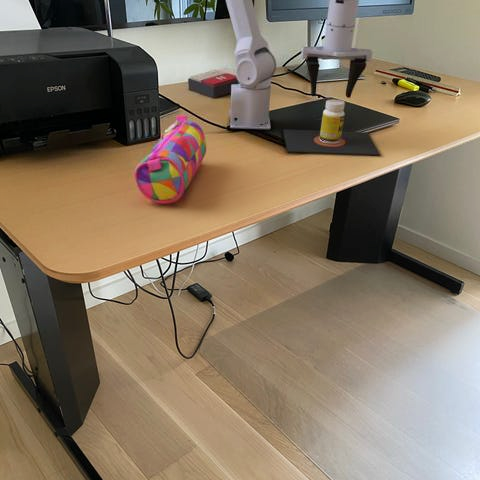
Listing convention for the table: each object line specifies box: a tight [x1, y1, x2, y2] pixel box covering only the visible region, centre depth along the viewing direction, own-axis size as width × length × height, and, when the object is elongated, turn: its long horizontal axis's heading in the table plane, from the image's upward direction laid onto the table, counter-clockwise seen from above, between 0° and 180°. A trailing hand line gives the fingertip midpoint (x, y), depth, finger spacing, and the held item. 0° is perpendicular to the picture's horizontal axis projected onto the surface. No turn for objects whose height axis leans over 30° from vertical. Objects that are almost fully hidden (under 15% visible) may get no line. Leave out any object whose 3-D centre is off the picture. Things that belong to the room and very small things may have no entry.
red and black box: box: [187, 67, 240, 99], centre depth 145 cm, size 11×4×15 cm
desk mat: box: [282, 129, 381, 157], centre depth 115 cm, size 20×14×1 cm
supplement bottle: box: [319, 98, 346, 144], centre depth 112 cm, size 5×5×8 cm
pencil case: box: [134, 114, 207, 205], centre depth 92 cm, size 22×9×9 cm, turn 174°
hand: (330, 95), depth 111 cm, fingers open, 7 cm apart
